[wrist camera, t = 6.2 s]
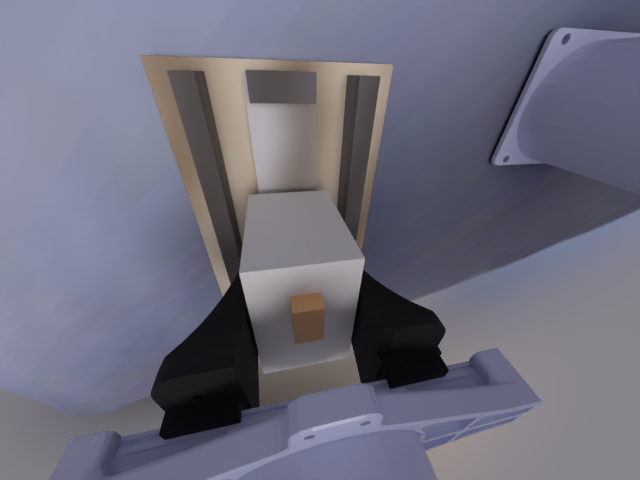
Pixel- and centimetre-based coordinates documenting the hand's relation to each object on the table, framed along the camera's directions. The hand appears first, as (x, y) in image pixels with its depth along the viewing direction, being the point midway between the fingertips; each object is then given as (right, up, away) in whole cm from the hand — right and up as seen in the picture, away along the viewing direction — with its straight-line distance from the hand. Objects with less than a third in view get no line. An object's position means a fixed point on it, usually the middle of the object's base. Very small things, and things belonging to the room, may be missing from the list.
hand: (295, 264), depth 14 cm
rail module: (0, +1, +1) cm, 2 cm away
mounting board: (-1, +3, +4) cm, 5 cm away
